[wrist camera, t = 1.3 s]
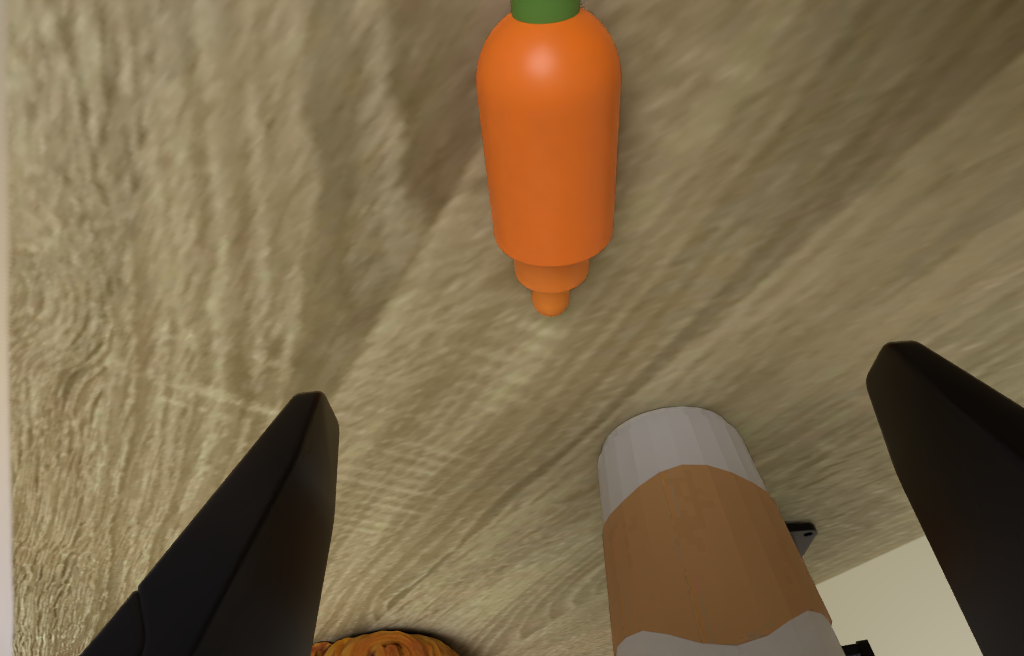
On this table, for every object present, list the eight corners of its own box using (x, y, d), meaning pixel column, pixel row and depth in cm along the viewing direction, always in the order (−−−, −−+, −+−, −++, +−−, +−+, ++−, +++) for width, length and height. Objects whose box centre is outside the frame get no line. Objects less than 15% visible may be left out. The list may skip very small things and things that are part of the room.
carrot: (594, 292, 20) (619, 362, 18) (501, 306, 20) (514, 378, 17) (605, -70, 12) (649, -31, 10) (456, -52, 12) (468, -7, 10)
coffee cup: (585, 502, 30) (647, 920, 19) (560, 406, 24) (631, 929, 13) (752, 478, 29) (915, 902, 18) (769, 371, 23) (1021, 904, 12)
